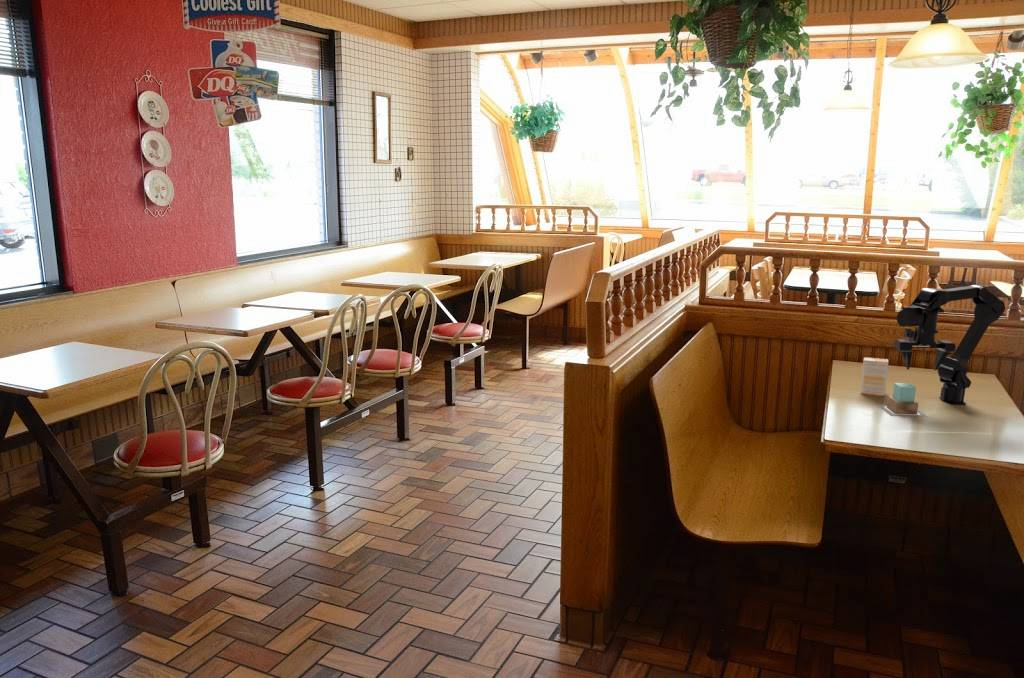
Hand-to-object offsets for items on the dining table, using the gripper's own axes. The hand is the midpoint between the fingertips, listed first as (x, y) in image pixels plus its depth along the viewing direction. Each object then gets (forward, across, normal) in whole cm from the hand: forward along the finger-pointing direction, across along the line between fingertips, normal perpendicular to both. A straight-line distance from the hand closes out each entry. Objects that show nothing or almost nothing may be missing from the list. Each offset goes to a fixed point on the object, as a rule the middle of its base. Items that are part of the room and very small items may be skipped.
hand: (921, 369), depth 274 cm
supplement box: (+13, +11, -11) cm, 20 cm away
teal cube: (+8, +9, +9) cm, 15 cm away
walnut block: (+12, +9, +9) cm, 18 cm away
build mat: (+12, +9, +9) cm, 18 cm away
